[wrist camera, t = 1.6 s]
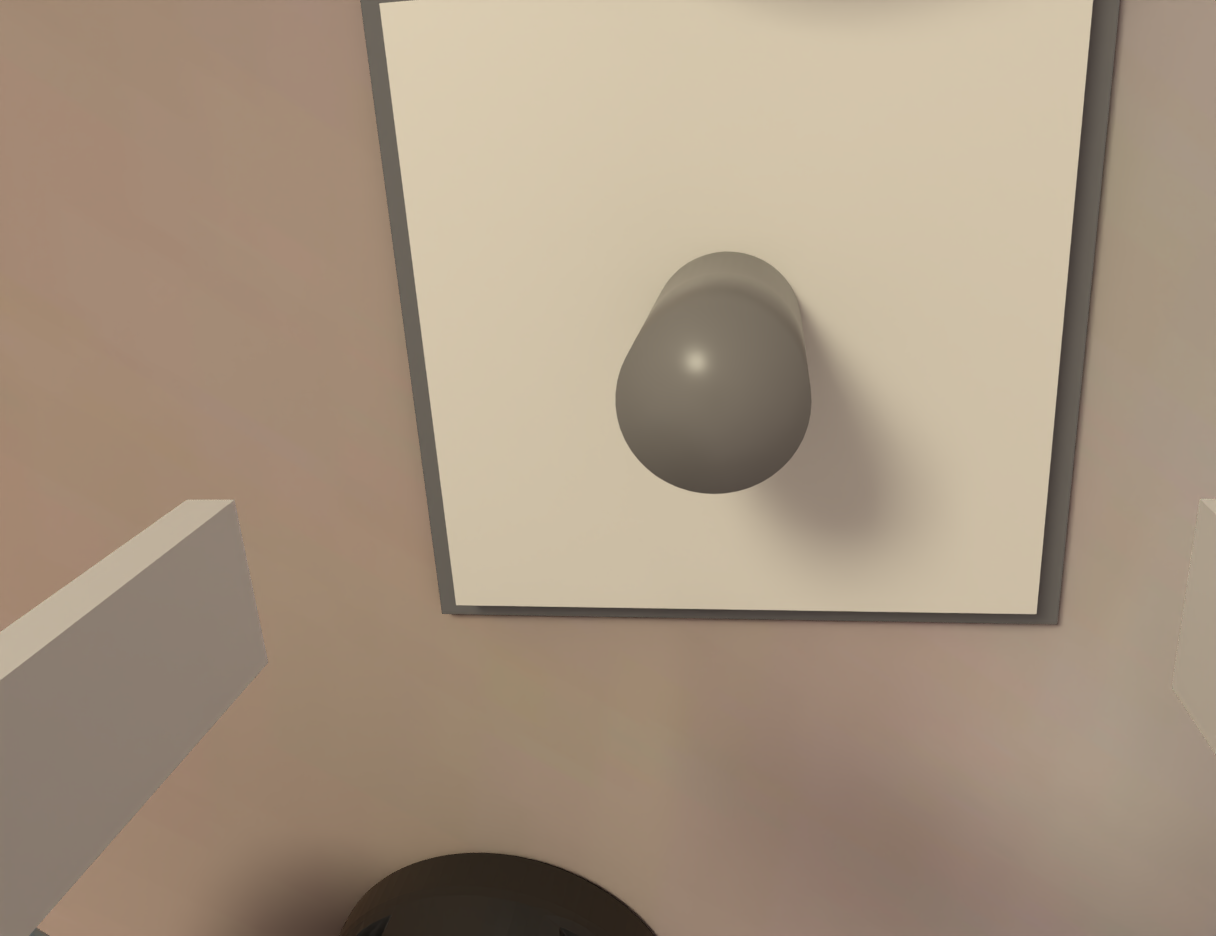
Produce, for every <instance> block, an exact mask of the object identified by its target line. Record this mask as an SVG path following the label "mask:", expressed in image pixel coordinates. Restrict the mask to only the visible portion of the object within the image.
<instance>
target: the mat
mask: <svg viewBox="0 0 1216 936" xmlns="http://www.w3.org/2000/svg"><path fill="white" fill-rule="evenodd" d="M400 1H411V0H360V2H361V9H362V17H363V24H364V32H365V39H366V47H367V54H368V62H369V69H370V76H371V84H372V91H373V99H374V106H375V114H376V121H377V129H378V136H379V144H380V151H381V159H382V166H383V174H384V181H385V189H386V196H387V204H388V211H389V219H390V226H391V234H392V241H393V249H394V256H395V264H396V271H397V279H398V286H399V294H400V301H401V309H402V316H403V324H404V331H405V339H406V346H407V354H408V361H409V369H410V376H411V384H412V391H413V399H414V406H415V414H416V421H417V429H418V436H419V444H420V451H421V459H422V466H423V474H424V481H425V489H426V496H427V504H428V511H429V519H430V526H431V534H432V541H433V549H434V556H435V564H436V571H437V579H438V586H439V594H440V601H441V609H442V614H484V615H543V616H602V617H661V618H720V619H779V620H839V621H898V622H957V623H1016V624H1057V622H1058V612H1059V602H1060V592H1061V582H1062V572H1063V562H1064V552H1065V542H1066V532H1067V522H1068V512H1069V503H1070V493H1071V483H1072V473H1073V463H1074V453H1075V443H1076V433H1077V423H1078V413H1079V403H1080V393H1081V383H1082V373H1083V363H1084V353H1085V343H1086V333H1087V323H1088V314H1089V304H1090V294H1091V284H1092V274H1093V264H1094V254H1095V244H1096V234H1097V224H1098V214H1099V204H1100V194H1101V184H1102V174H1103V164H1104V154H1105V144H1106V134H1107V125H1108V115H1109V105H1110V95H1111V85H1112V75H1113V65H1114V55H1115V45H1116V35H1117V25H1118V15H1119V5H1120V0H1093V7H1092V18H1091V28H1090V39H1089V50H1088V61H1087V72H1086V83H1085V93H1084V104H1083V115H1082V126H1081V137H1080V148H1079V158H1078V169H1077V180H1076V191H1075V202H1074V213H1073V224H1072V234H1071V245H1070V256H1069V267H1068V278H1067V289H1066V299H1065V310H1064V321H1063V332H1062V343H1061V354H1060V364H1059V375H1058V386H1057V397H1056V408H1055V419H1054V430H1053V440H1052V451H1051V462H1050V473H1049V484H1048V495H1047V505H1046V516H1045V527H1044V538H1043V549H1042V560H1041V570H1040V581H1039V592H1038V603H1037V614H991V613H926V612H861V611H797V610H732V609H667V608H603V607H538V606H473V605H456V600H455V593H454V585H453V577H452V569H451V561H450V553H449V546H448V538H447V530H446V522H445V514H444V507H443V499H442V491H441V483H440V475H439V467H438V460H437V452H436V444H435V436H434V428H433V420H432V413H431V405H430V397H429V389H428V381H427V373H426V366H425V358H424V350H423V342H422V334H421V326H420V319H419V311H418V303H417V295H416V287H415V279H414V272H413V264H412V256H411V248H410V240H409V232H408V225H407V217H406V209H405V201H404V193H403V185H402V178H401V170H400V162H399V154H398V146H397V138H396V131H395V123H394V115H393V107H392V99H391V92H390V84H389V76H388V68H387V60H386V52H385V45H384V37H383V29H382V21H381V13H380V5H379V3H388V2H400Z"/></svg>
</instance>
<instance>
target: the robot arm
mask: <svg viewBox="0 0 1216 936" xmlns="http://www.w3.org/2000/svg"><path fill="white" fill-rule="evenodd" d="M267 663H268V659H267V655H266V650H265V645H264V640H263V635H262V630H261V626H260V621H259V616H258V611H257V606H256V602H255V597H254V592H253V587H252V582H251V577H250V573H249V568H248V563H247V558H246V553H245V549H244V544H243V539H242V534H241V529H240V524H239V520H238V515H237V510H236V505H235V500H186V501H184V502H183V503H182V504H180V505H179V506H177V507H176V508H175V509H173V510H172V511H170V512H169V513H167V514H166V515H165V516H163V517H162V518H160V519H159V520H158V521H156V522H155V523H153V524H152V525H151V526H149V527H148V528H146V529H145V530H143V531H142V532H141V533H139V534H138V535H136V536H135V537H134V538H132V539H131V540H129V541H128V542H127V543H125V544H124V545H122V546H121V547H119V548H118V549H117V550H115V551H114V552H112V553H111V554H110V555H108V556H107V557H105V558H104V559H103V560H101V561H100V562H98V563H97V564H95V565H94V566H93V567H91V568H90V569H88V570H87V571H86V572H84V573H83V574H81V575H80V576H79V577H77V578H76V579H74V580H73V581H71V582H70V583H69V584H67V585H66V586H64V587H63V588H62V589H60V590H59V591H57V592H56V593H55V594H53V595H52V596H50V597H49V598H47V599H46V600H45V601H43V602H42V603H40V604H39V605H38V606H36V607H35V608H33V609H32V610H31V611H29V612H28V613H26V614H25V615H24V616H22V617H21V618H19V619H18V620H16V621H15V622H14V623H12V624H11V625H9V626H8V627H7V628H5V629H4V630H2V631H1V632H0V936H49V935H47V934H46V933H44V932H43V931H41V930H40V929H38V928H37V926H38V925H39V924H40V923H41V921H42V920H43V919H44V918H45V917H46V916H47V915H48V913H49V912H50V911H51V910H52V909H53V908H54V907H55V905H56V904H57V903H58V902H59V901H60V900H61V899H62V897H63V896H64V895H65V894H66V893H67V892H68V891H69V889H70V888H71V887H72V886H73V885H74V884H75V883H76V881H77V880H78V879H79V878H80V877H81V876H82V875H83V873H84V872H85V871H86V870H87V869H88V868H89V867H90V865H91V864H92V863H93V862H94V861H95V860H96V859H97V857H98V856H99V855H100V854H101V853H102V852H103V851H104V849H105V848H106V847H107V846H108V845H109V844H110V843H111V841H112V840H113V839H114V838H115V837H116V836H117V835H118V833H119V832H120V831H121V830H122V829H123V828H124V827H125V825H126V824H127V823H128V822H129V821H130V820H131V819H132V817H133V816H134V815H135V814H136V813H137V812H138V811H139V810H140V808H141V807H142V806H143V805H144V804H145V803H146V802H147V800H148V799H149V798H150V797H151V796H152V795H153V794H154V792H155V791H156V790H157V789H158V788H159V787H160V786H161V784H162V783H163V782H164V781H165V780H166V779H167V778H168V776H169V775H170V774H171V773H172V772H173V771H174V770H175V768H176V767H177V766H178V765H179V764H180V763H181V762H182V760H183V759H184V758H185V757H186V756H187V755H188V754H189V752H190V751H191V750H192V749H193V748H194V747H195V746H196V744H197V743H198V742H199V741H200V740H201V739H202V738H203V736H204V735H205V734H206V733H207V732H208V731H209V730H210V728H211V727H212V726H213V725H214V724H215V723H216V722H217V720H218V719H219V718H220V717H221V716H222V715H223V714H224V712H225V711H226V710H227V709H228V708H229V707H230V706H231V704H232V703H233V702H234V701H235V700H236V699H237V698H238V696H239V695H240V694H241V693H242V692H243V691H244V690H245V688H246V687H247V686H248V685H249V684H250V683H251V682H252V680H253V679H254V678H255V677H256V676H257V675H258V674H259V672H260V671H261V670H262V669H263V668H264V667H265V666H266V664H267ZM1172 689H1173V691H1174V692H1175V694H1176V695H1177V697H1178V698H1179V700H1180V701H1181V703H1182V704H1183V706H1184V708H1185V709H1186V711H1187V712H1188V714H1189V715H1190V717H1191V718H1192V720H1193V721H1194V723H1195V724H1196V726H1197V727H1198V729H1199V731H1200V732H1201V734H1202V735H1203V737H1204V738H1205V740H1206V741H1207V743H1208V744H1209V746H1210V747H1211V749H1212V750H1213V752H1214V754H1215V755H1216V499H1200V501H1199V508H1198V514H1197V521H1196V528H1195V534H1194V541H1193V548H1192V555H1191V561H1190V568H1189V575H1188V581H1187V588H1186V595H1185V601H1184V608H1183V615H1182V621H1181V628H1180V635H1179V642H1178V648H1177V655H1176V662H1175V668H1174V675H1173V682H1172ZM339 936H654V935H653V934H652V933H651V932H650V930H649V929H648V928H647V927H646V926H645V925H644V924H643V923H642V922H641V921H640V920H639V919H638V918H637V917H636V916H635V915H634V914H633V913H632V912H631V911H630V910H629V909H628V908H626V907H625V906H624V905H623V904H621V903H620V902H619V901H618V900H616V899H615V898H613V897H612V896H611V895H609V894H608V893H606V892H605V891H603V890H601V889H600V888H598V887H597V886H595V885H593V884H591V883H589V882H588V881H586V880H584V879H582V878H580V877H578V876H576V875H573V874H571V873H569V872H566V871H564V870H561V869H559V868H556V867H553V866H550V865H547V864H544V863H541V862H537V861H533V860H530V859H525V858H520V857H515V856H508V855H501V854H489V853H466V854H454V855H446V856H440V857H435V858H431V859H427V860H423V861H420V862H417V863H414V864H412V865H409V866H407V867H404V868H402V869H400V870H398V871H396V872H394V873H392V874H391V875H389V876H387V877H386V878H384V879H383V880H381V881H380V882H379V883H377V884H376V885H375V886H374V887H372V888H371V889H370V890H369V891H368V892H367V893H366V894H365V895H364V896H363V897H362V898H361V900H360V901H359V902H358V903H357V905H356V906H355V907H354V909H353V910H352V912H351V914H350V916H349V917H348V919H347V921H346V923H345V925H344V927H343V929H342V931H341V933H340V935H339Z"/></svg>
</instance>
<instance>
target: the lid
mask: <svg viewBox="0 0 1216 936" xmlns="http://www.w3.org/2000/svg"><path fill="white" fill-rule="evenodd" d="M379 5H380V13H381V21H382V29H383V37H384V45H385V52H386V60H387V68H388V76H389V84H390V92H391V99H392V107H393V115H394V123H395V131H396V138H397V146H398V154H399V162H400V170H401V178H402V185H403V193H404V201H405V209H406V217H407V225H408V232H409V240H410V248H411V256H412V264H413V272H414V279H415V287H416V295H417V303H418V311H419V319H420V326H421V334H422V342H423V350H424V358H425V366H426V373H427V381H428V389H429V397H430V405H431V413H432V420H433V428H434V436H435V444H436V452H437V460H438V467H439V475H440V483H441V491H442V499H443V507H444V514H445V522H446V530H447V538H448V546H449V553H450V561H451V569H452V577H453V585H454V593H455V600H456V605H473V606H538V607H603V608H667V609H732V610H797V611H861V612H926V613H991V614H1037V603H1038V592H1039V581H1040V570H1041V560H1042V549H1043V538H1044V527H1045V516H1046V505H1047V495H1048V484H1049V473H1050V462H1051V451H1052V440H1053V430H1054V419H1055V408H1056V397H1057V386H1058V375H1059V364H1060V354H1061V343H1062V332H1063V321H1064V310H1065V299H1066V289H1067V278H1068V267H1069V256H1070V245H1071V234H1072V224H1073V213H1074V202H1075V191H1076V180H1077V169H1078V158H1079V148H1080V137H1081V126H1082V115H1083V104H1084V93H1085V83H1086V72H1087V61H1088V50H1089V39H1090V28H1091V18H1092V7H1093V0H411V1H400V2H388V3H379Z"/></svg>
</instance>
